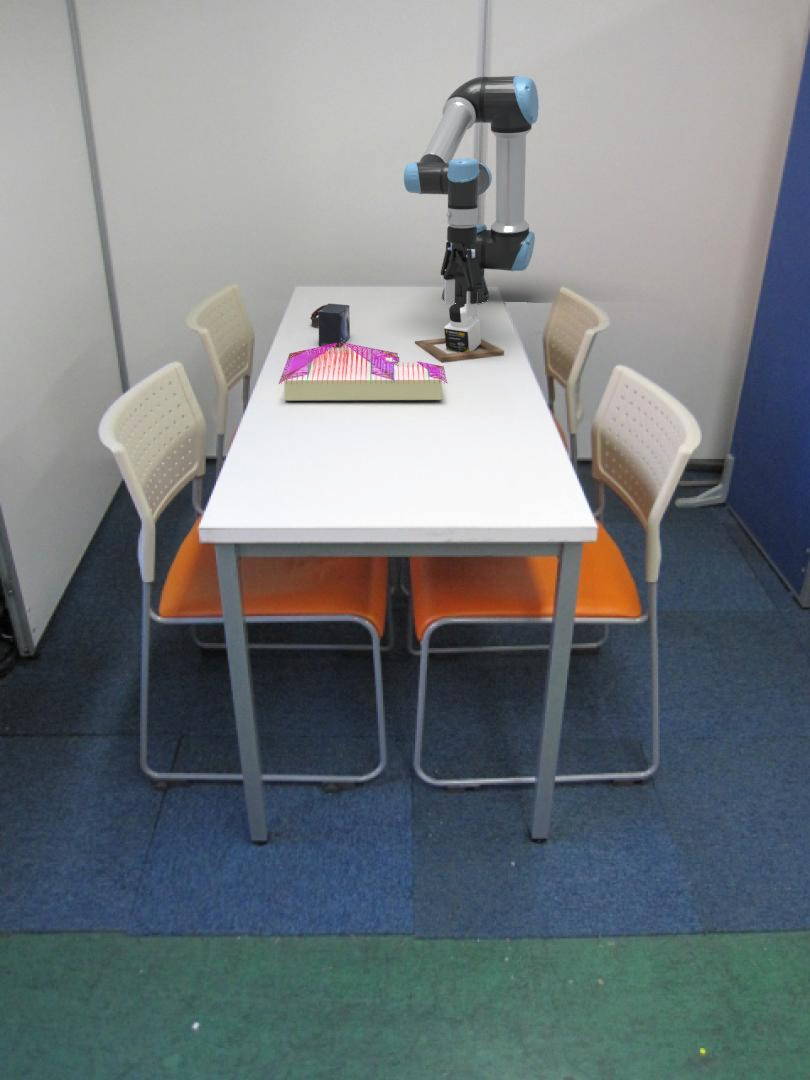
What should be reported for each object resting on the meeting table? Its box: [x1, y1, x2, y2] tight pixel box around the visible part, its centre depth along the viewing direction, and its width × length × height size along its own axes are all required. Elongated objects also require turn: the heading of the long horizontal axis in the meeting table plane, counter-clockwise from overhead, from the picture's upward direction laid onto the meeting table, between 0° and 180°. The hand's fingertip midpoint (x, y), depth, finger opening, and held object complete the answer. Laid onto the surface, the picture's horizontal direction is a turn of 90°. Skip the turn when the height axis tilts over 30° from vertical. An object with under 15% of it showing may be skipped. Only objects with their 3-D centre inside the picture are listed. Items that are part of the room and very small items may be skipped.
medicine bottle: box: [443, 303, 482, 353], centre depth 232 cm, size 7×7×12 cm
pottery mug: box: [309, 303, 329, 328], centre depth 255 cm, size 12×9×8 cm
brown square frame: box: [414, 337, 505, 364], centre depth 235 cm, size 18×18×2 cm
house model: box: [278, 342, 448, 401], centre depth 207 cm, size 38×25×10 cm
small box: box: [317, 303, 351, 349], centre depth 238 cm, size 11×6×10 cm, turn 168°
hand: (460, 310), depth 230 cm, fingers open, 13 cm apart
